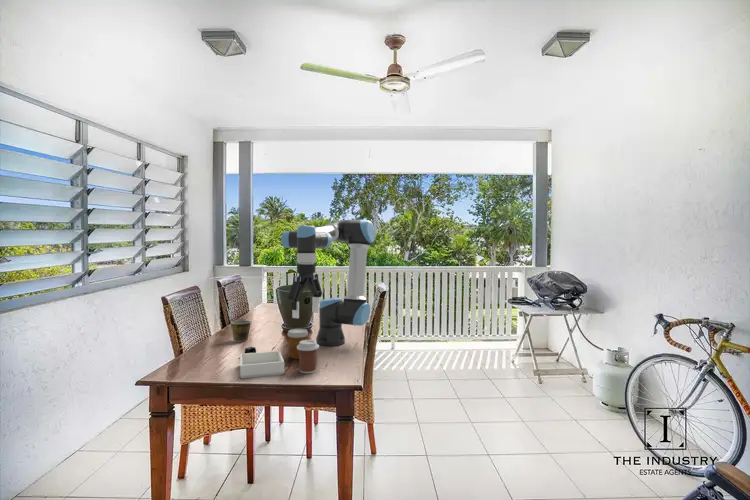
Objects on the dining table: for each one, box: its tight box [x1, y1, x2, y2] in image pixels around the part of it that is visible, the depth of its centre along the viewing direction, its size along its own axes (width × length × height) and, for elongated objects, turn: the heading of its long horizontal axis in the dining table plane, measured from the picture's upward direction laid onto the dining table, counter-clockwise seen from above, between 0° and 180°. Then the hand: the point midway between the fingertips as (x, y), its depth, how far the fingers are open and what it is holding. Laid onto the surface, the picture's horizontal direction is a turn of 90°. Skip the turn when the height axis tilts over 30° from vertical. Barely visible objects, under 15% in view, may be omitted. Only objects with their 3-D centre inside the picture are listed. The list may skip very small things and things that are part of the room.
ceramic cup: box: [230, 319, 252, 343], centre depth 209 cm, size 13×10×10 cm
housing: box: [239, 350, 285, 379], centre depth 165 cm, size 17×17×5 cm
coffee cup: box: [297, 339, 320, 374], centre depth 164 cm, size 9×9×12 cm
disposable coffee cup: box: [286, 328, 309, 360], centre depth 184 cm, size 10×10×12 cm
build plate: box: [238, 346, 257, 360], centre depth 183 cm, size 12×7×5 cm, turn 148°
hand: (305, 315), depth 164 cm, fingers open, 13 cm apart
